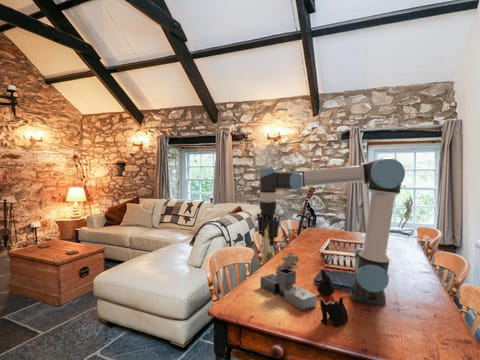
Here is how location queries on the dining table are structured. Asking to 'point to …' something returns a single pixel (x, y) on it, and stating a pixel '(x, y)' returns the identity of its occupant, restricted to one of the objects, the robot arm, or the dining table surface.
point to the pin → (266, 245)
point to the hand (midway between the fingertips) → (267, 250)
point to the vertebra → (289, 261)
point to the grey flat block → (300, 297)
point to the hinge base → (279, 281)
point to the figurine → (330, 302)
